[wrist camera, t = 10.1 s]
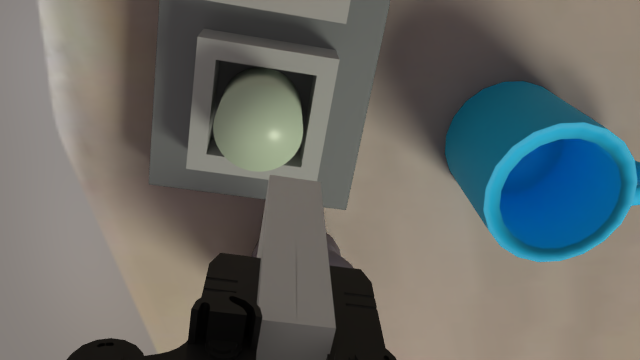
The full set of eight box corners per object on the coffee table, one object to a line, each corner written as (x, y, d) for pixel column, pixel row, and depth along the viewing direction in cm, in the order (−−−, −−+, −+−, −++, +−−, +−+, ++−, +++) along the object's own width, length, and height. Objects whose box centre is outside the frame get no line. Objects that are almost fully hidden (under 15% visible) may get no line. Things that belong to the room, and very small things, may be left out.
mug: (432, 191, 39) (467, 255, 32) (460, 73, 36) (506, 113, 28) (599, 208, 40) (670, 274, 33) (641, 95, 37) (730, 139, 30)
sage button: (226, 61, 31) (217, 80, 27) (307, 74, 31) (309, 94, 28) (217, 138, 33) (209, 165, 29) (294, 148, 33) (295, 177, 30)
